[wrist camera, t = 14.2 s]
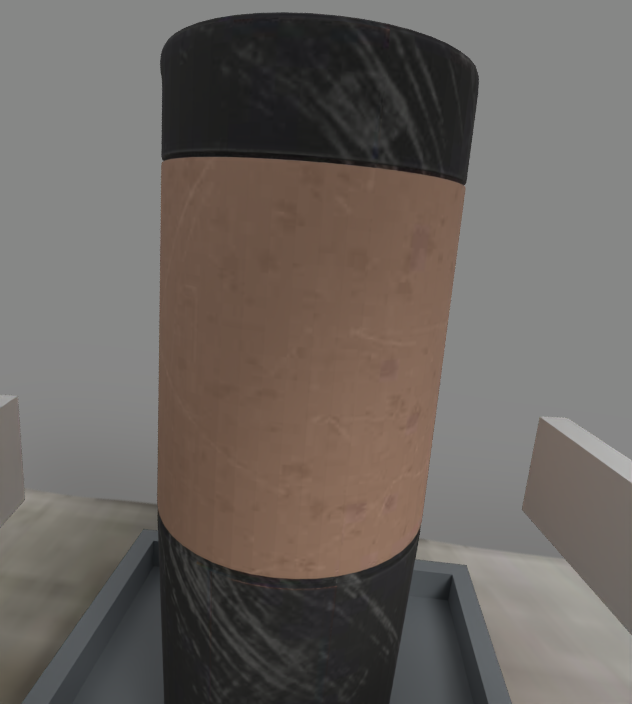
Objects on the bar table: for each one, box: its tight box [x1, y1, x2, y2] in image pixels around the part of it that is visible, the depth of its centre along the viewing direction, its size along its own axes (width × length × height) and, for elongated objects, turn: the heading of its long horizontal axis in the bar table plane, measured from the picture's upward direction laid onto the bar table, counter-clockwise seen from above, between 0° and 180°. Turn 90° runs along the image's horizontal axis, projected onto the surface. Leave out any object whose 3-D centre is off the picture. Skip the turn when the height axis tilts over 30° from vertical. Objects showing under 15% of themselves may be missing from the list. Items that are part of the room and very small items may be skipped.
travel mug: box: [157, 12, 479, 704], centre depth 15 cm, size 8×8×20 cm
